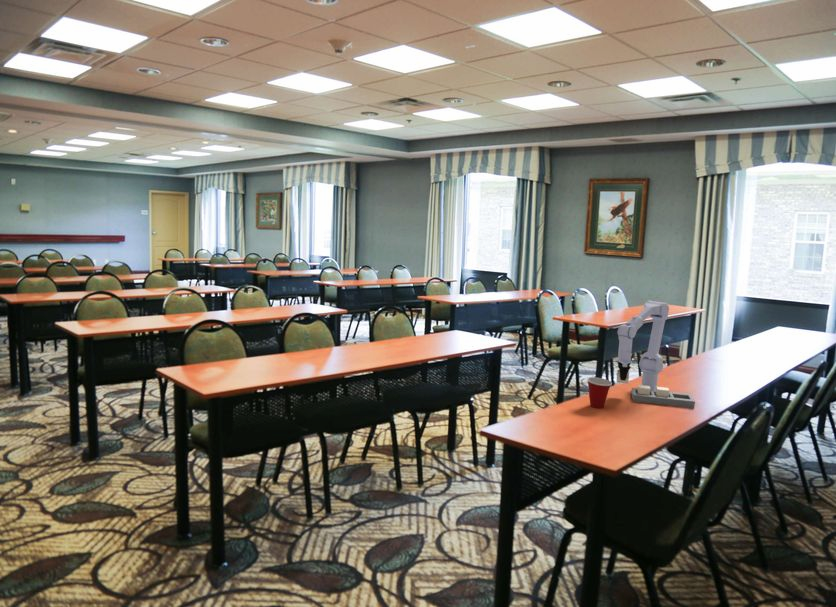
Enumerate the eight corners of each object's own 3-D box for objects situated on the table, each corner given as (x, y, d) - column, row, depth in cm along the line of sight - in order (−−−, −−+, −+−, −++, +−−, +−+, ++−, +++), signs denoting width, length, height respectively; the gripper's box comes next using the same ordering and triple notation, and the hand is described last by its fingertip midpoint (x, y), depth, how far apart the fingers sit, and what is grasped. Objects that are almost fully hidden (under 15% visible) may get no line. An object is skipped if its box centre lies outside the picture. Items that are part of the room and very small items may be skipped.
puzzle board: (631, 393, 290) (632, 382, 289) (689, 400, 283) (690, 388, 282) (633, 401, 278) (634, 389, 277) (694, 408, 271) (695, 395, 270)
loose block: (616, 379, 287) (617, 369, 287) (627, 380, 286) (628, 370, 285) (617, 382, 283) (617, 372, 282) (628, 383, 281) (629, 373, 281)
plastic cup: (605, 411, 260) (607, 384, 258) (581, 406, 266) (583, 380, 265) (613, 406, 269) (616, 380, 267) (590, 401, 275) (592, 375, 273)
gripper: (615, 346, 290) (613, 374, 292) (616, 352, 276) (614, 381, 278) (630, 348, 288) (628, 375, 290) (633, 354, 274) (630, 383, 276)
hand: (622, 378), depth 284 cm, fingers closed on loose block, 5 cm apart
